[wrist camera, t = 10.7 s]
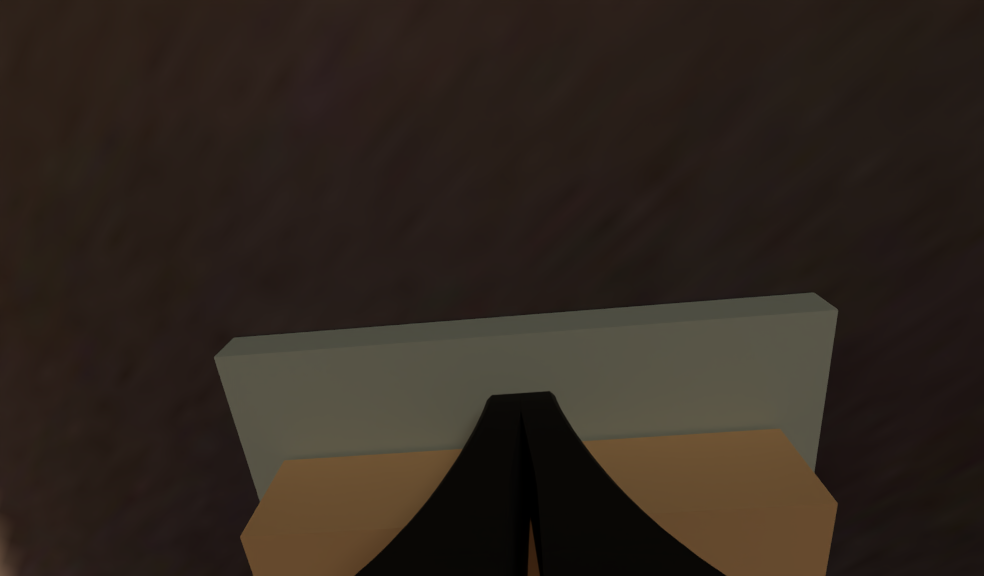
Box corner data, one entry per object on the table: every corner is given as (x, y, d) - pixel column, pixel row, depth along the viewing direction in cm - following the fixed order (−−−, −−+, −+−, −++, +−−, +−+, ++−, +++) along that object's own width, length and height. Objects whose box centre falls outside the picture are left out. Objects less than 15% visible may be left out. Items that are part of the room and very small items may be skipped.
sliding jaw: (765, 555, 14) (813, 645, 12) (318, 578, 15) (285, 667, 13) (779, 428, 13) (837, 503, 11) (284, 459, 14) (240, 537, 11)
